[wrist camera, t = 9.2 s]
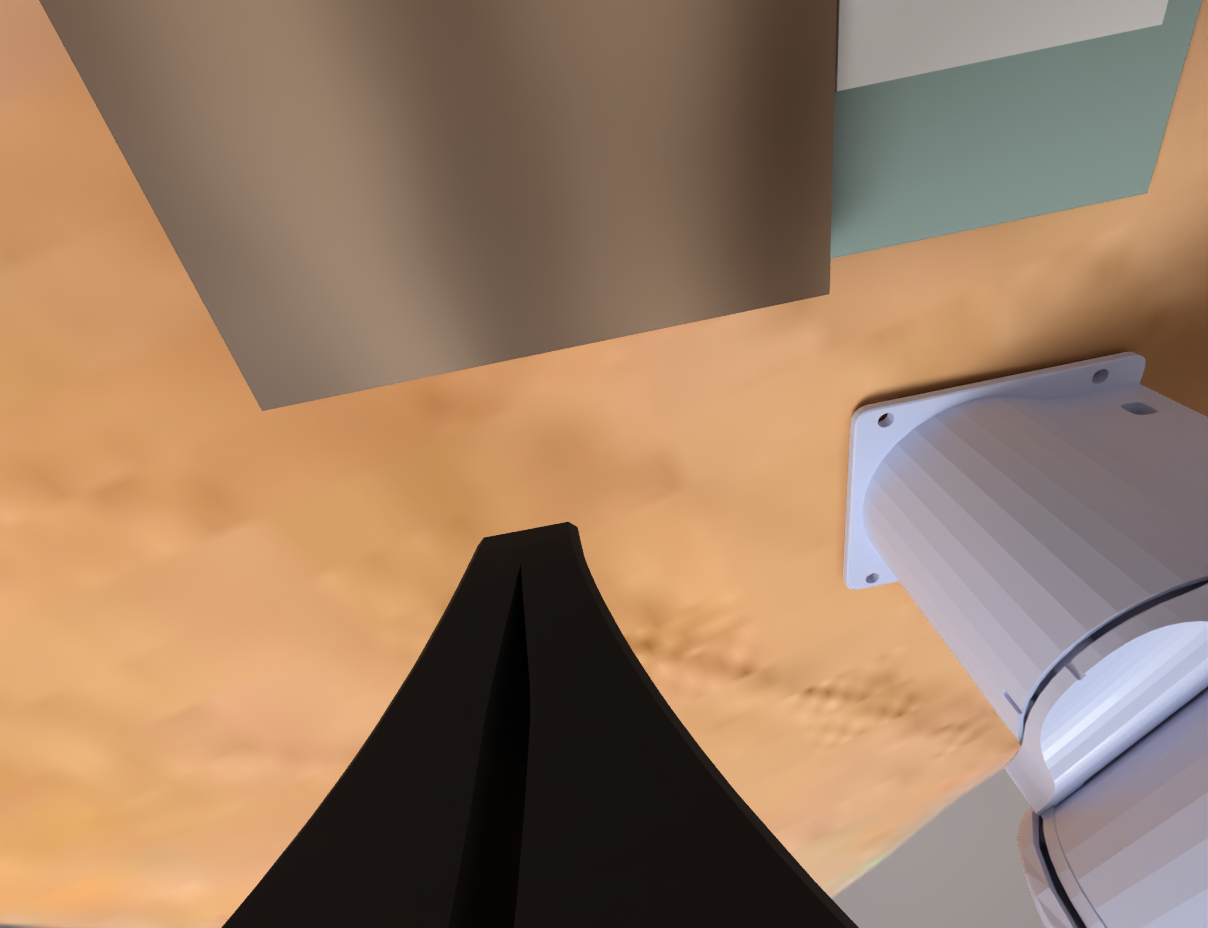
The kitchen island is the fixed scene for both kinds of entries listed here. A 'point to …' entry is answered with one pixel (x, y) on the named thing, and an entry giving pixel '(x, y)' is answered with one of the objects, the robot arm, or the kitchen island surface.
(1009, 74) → the mat
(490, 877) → the robot arm
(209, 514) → the kitchen island surface
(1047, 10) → the tile
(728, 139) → the board
